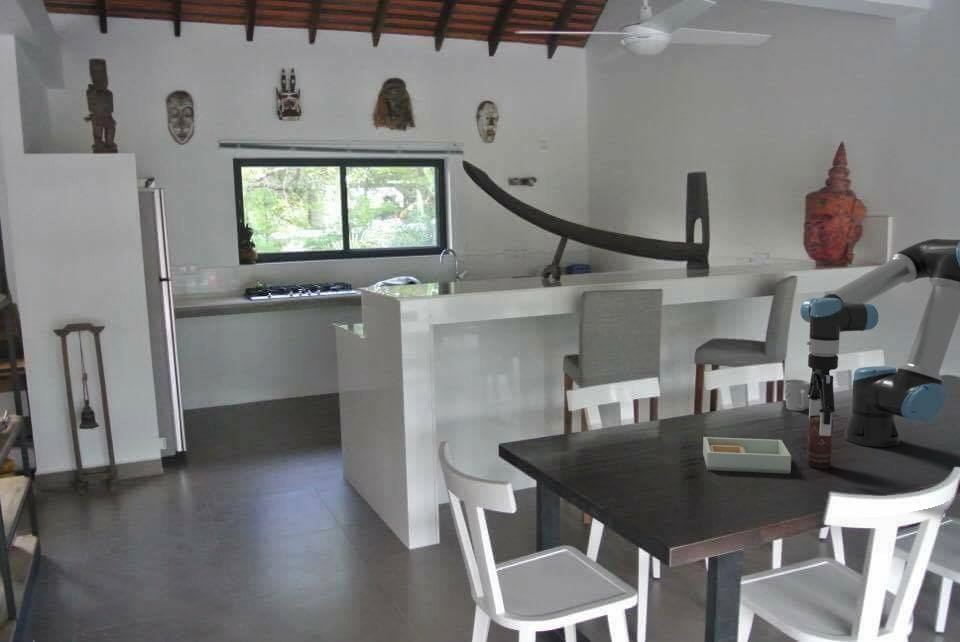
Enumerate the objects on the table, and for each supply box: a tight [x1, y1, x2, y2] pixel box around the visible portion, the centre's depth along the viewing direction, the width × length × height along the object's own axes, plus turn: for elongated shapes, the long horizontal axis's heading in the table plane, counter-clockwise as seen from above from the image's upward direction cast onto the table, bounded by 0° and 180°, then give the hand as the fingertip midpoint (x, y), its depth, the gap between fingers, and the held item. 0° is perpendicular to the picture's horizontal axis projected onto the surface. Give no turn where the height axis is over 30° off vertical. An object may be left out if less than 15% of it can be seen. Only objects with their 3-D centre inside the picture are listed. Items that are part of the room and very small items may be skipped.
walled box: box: [702, 436, 792, 475], centre depth 214 cm, size 22×15×5 cm
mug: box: [783, 379, 810, 412], centre depth 269 cm, size 11×8×10 cm
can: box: [806, 414, 834, 470], centre depth 210 cm, size 6×6×14 cm
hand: (819, 428), depth 209 cm, fingers open, 13 cm apart
